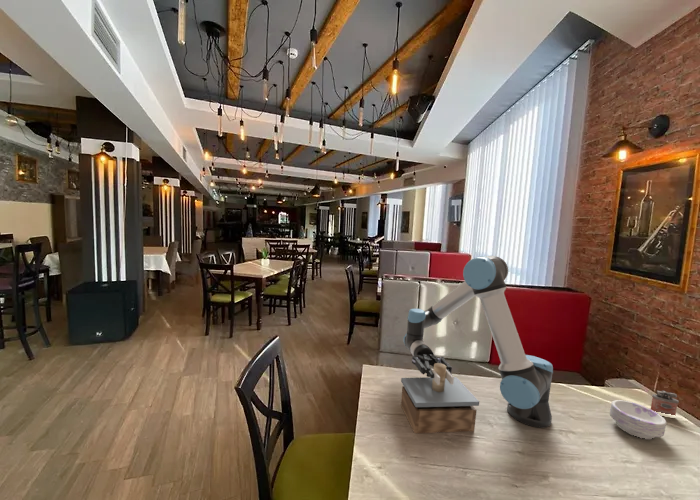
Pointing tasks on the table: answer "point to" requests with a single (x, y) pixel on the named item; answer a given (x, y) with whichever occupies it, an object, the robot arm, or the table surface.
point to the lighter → (664, 402)
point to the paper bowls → (637, 419)
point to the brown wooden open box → (438, 417)
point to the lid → (438, 391)
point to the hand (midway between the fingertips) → (445, 380)
